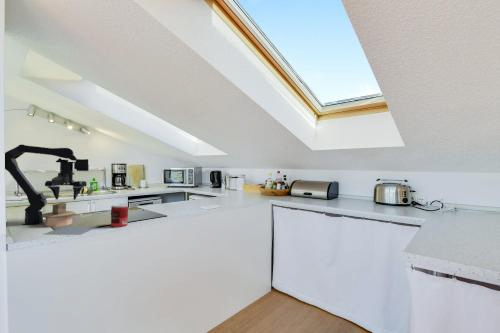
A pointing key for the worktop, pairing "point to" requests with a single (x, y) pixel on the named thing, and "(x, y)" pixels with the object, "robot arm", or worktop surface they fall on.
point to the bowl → (58, 221)
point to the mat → (71, 230)
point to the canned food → (119, 215)
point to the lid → (58, 211)
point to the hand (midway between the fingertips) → (65, 199)
